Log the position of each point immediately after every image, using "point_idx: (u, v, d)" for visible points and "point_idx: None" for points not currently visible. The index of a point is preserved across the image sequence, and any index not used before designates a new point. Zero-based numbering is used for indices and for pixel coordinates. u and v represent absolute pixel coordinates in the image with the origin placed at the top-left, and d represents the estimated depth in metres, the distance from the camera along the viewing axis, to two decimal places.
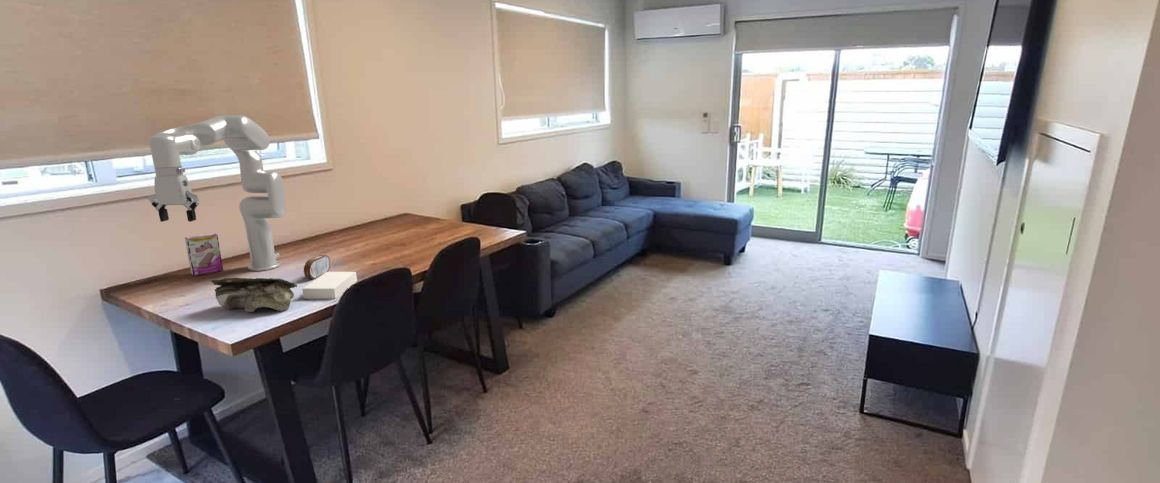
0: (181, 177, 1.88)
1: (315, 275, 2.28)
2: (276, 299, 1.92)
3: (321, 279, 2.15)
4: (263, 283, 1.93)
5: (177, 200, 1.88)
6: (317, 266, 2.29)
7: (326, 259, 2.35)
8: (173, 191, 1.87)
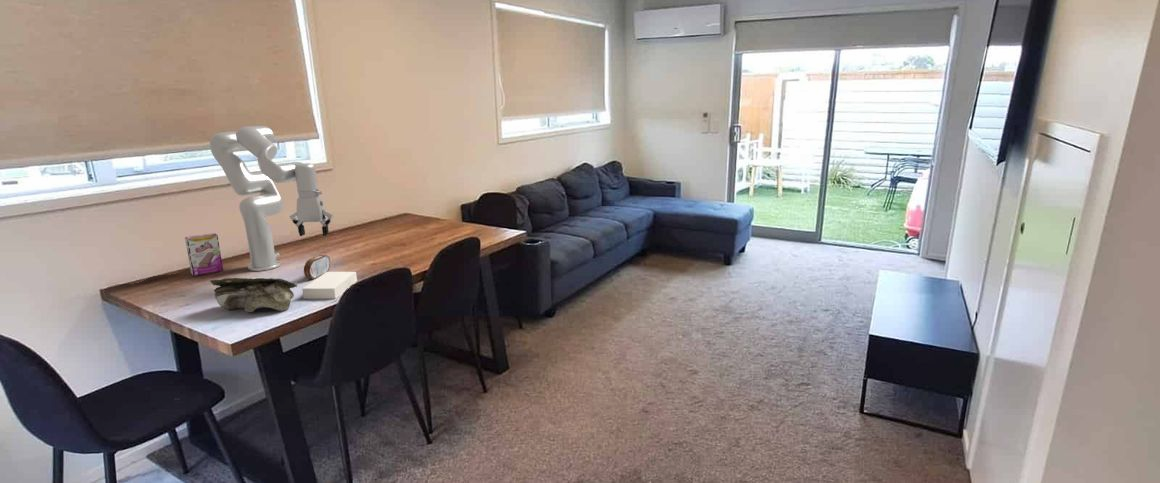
0: (319, 198, 2.23)
1: (315, 275, 2.28)
2: (276, 299, 1.91)
3: (321, 279, 2.15)
4: (263, 283, 1.93)
5: (315, 218, 2.23)
6: (317, 266, 2.29)
7: (326, 259, 2.35)
8: (312, 210, 2.22)
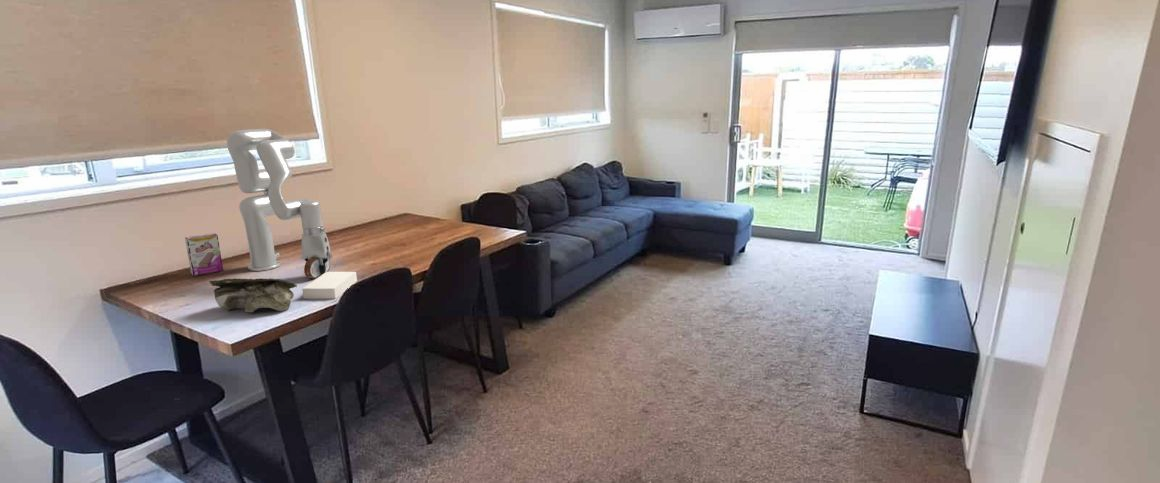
0: (323, 235, 2.27)
1: (315, 275, 2.28)
2: (276, 299, 1.91)
3: (321, 279, 2.15)
4: (263, 283, 1.93)
5: (319, 254, 2.27)
6: (317, 265, 2.29)
7: None
8: (317, 247, 2.26)
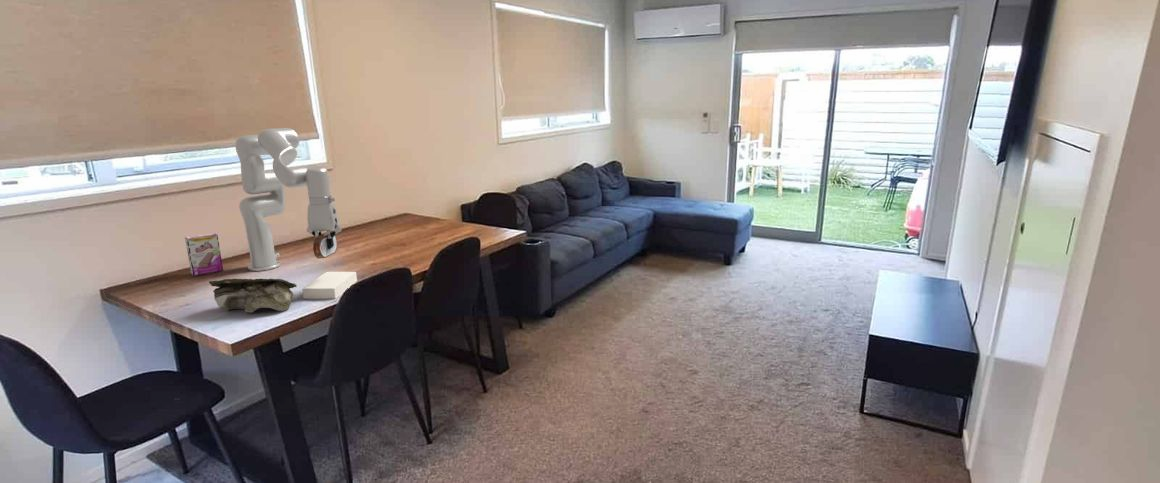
0: (331, 205, 2.06)
1: (325, 254, 2.08)
2: (276, 299, 1.91)
3: (321, 279, 2.15)
4: (263, 284, 1.93)
5: (327, 227, 2.07)
6: (326, 244, 2.09)
7: (333, 238, 2.15)
8: (324, 218, 2.06)
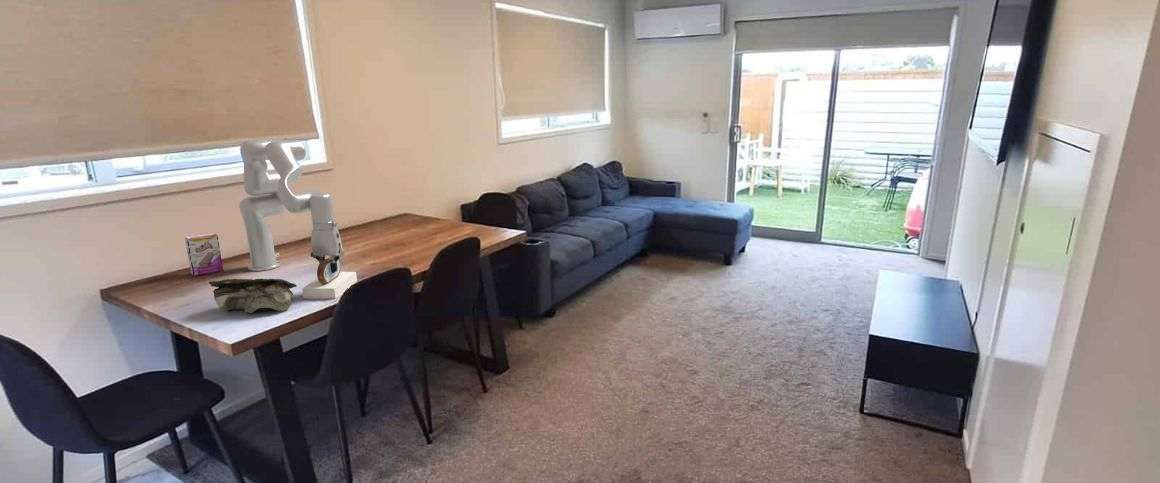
0: (335, 230, 2.08)
1: (328, 279, 2.10)
2: (276, 299, 1.91)
3: None
4: (263, 284, 1.93)
5: (331, 251, 2.09)
6: (329, 269, 2.11)
7: (337, 261, 2.17)
8: (328, 243, 2.08)
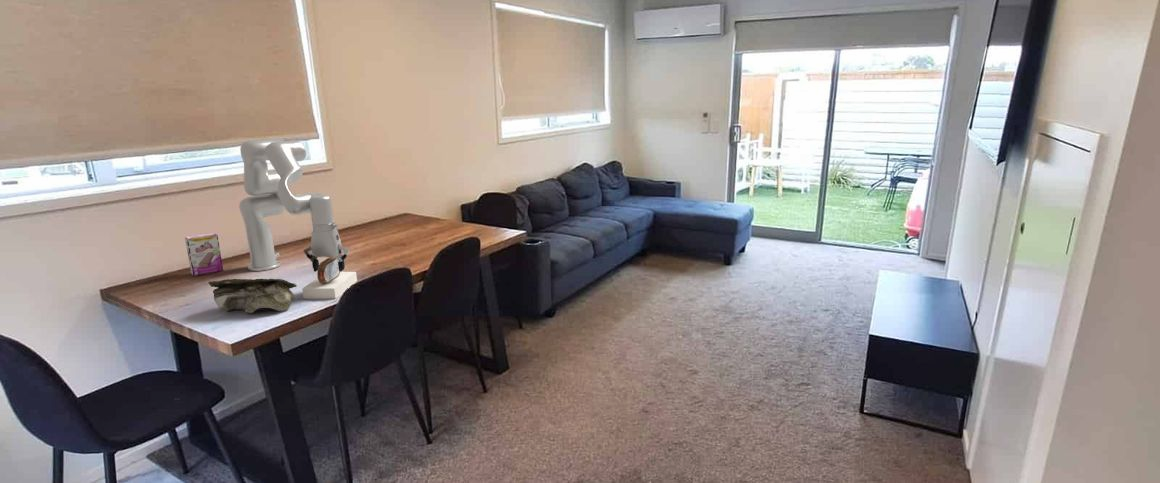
0: (335, 232, 2.09)
1: (328, 279, 2.10)
2: (277, 299, 1.91)
3: None
4: (263, 284, 1.93)
5: (330, 253, 2.09)
6: (330, 269, 2.11)
7: (337, 262, 2.17)
8: (328, 245, 2.08)
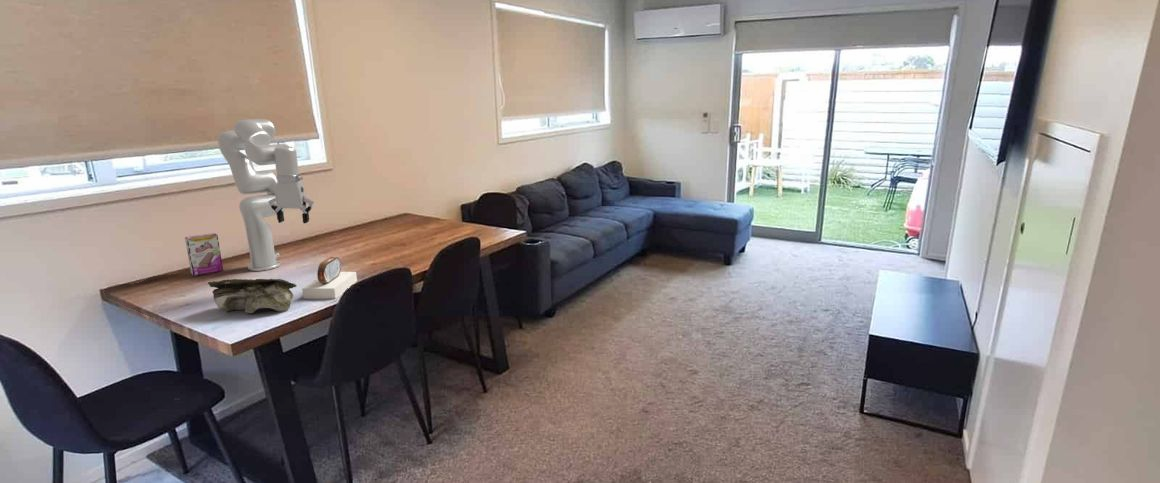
0: (299, 184, 2.11)
1: (328, 279, 2.10)
2: (277, 299, 1.91)
3: None
4: (262, 284, 1.92)
5: (295, 205, 2.12)
6: (330, 269, 2.11)
7: (337, 262, 2.17)
8: (292, 196, 2.11)
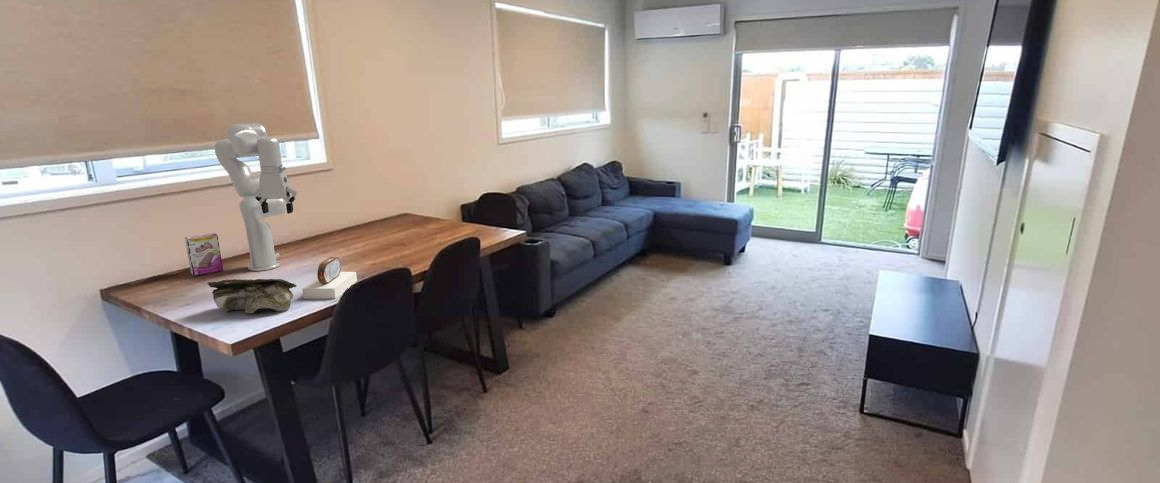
0: (282, 174, 2.14)
1: (328, 279, 2.10)
2: (277, 299, 1.91)
3: None
4: (262, 284, 1.92)
5: (278, 195, 2.15)
6: (330, 269, 2.11)
7: (337, 262, 2.17)
8: (276, 187, 2.14)
